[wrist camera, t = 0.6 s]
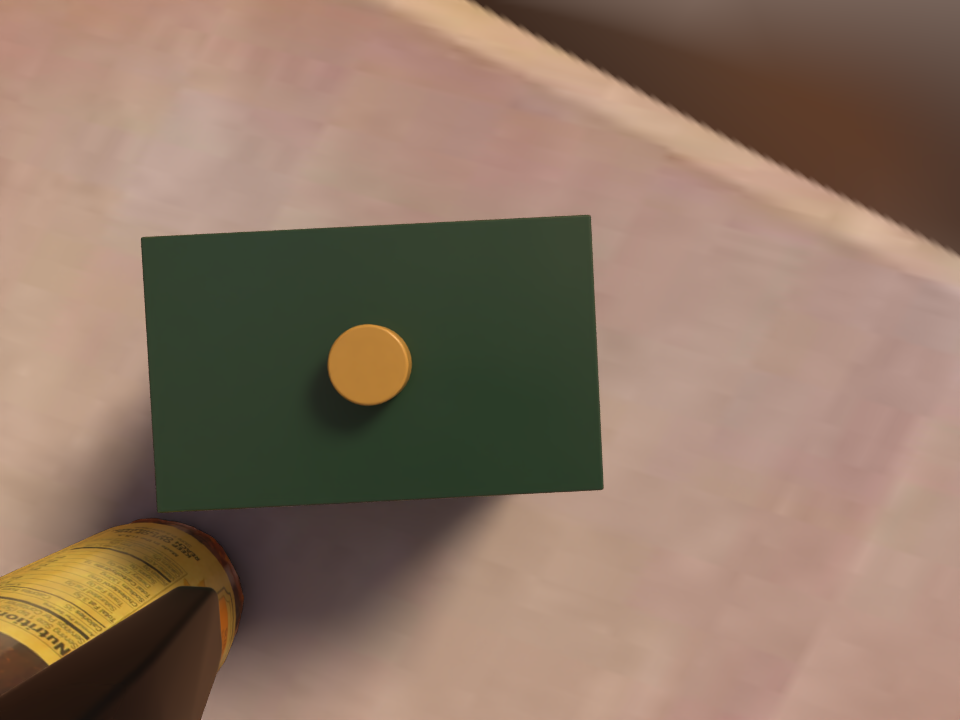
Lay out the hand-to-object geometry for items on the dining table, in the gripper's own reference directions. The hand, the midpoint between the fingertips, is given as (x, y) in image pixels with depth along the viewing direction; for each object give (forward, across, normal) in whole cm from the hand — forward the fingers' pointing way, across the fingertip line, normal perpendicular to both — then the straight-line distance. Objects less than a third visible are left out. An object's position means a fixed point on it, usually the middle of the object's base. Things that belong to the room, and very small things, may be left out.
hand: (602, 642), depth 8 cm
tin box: (+16, +4, +2) cm, 17 cm away
